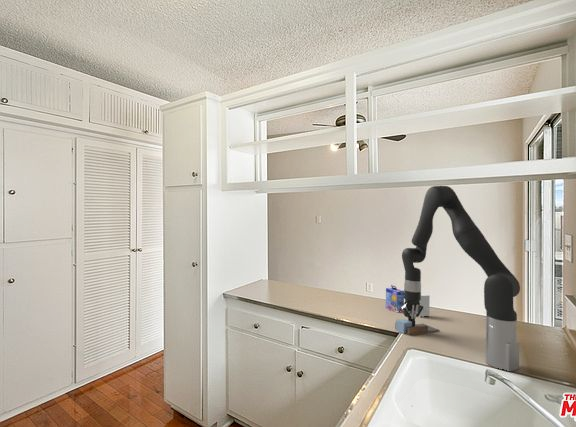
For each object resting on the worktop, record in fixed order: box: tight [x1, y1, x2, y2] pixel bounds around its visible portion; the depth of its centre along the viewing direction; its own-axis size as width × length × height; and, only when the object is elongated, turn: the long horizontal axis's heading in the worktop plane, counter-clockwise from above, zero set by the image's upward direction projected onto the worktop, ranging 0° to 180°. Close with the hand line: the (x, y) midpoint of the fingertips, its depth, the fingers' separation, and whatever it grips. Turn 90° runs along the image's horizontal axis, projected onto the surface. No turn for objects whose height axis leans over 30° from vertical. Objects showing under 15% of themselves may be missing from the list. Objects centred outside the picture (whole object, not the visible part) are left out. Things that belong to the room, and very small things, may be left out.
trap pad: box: [415, 323, 441, 333], centre depth 151 cm, size 10×6×1 cm, turn 25°
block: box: [395, 318, 412, 335], centre depth 145 cm, size 5×5×5 cm
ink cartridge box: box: [385, 284, 405, 312], centre depth 183 cm, size 10×6×14 cm, turn 25°
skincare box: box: [417, 293, 431, 317], centre depth 172 cm, size 6×4×12 cm
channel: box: [394, 322, 429, 336], centre depth 147 cm, size 8×12×3 cm
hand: (411, 326), depth 147 cm, fingers closed
